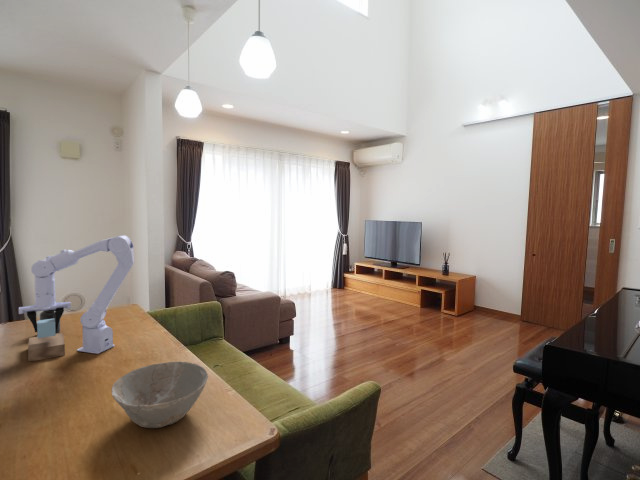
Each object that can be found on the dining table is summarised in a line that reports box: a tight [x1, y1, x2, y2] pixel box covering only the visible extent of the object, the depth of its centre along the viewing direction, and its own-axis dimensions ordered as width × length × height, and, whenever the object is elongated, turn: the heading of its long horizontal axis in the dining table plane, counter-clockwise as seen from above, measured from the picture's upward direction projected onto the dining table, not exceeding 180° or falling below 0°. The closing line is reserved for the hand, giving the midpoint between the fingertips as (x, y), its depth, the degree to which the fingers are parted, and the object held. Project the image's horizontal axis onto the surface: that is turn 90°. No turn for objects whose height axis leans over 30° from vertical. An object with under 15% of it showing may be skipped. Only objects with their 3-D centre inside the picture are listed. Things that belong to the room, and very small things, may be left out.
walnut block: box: [27, 332, 66, 362], centre depth 125 cm, size 10×14×4 cm
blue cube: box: [36, 318, 56, 338], centre depth 123 cm, size 5×5×5 cm
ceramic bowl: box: [111, 361, 209, 429], centre depth 88 cm, size 22×23×10 cm
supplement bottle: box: [39, 309, 61, 334], centre depth 143 cm, size 7×7×12 cm
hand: (46, 330), depth 123 cm, fingers closed on blue cube, 5 cm apart
